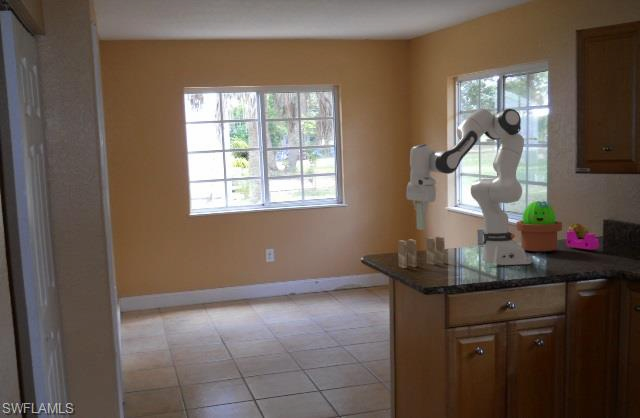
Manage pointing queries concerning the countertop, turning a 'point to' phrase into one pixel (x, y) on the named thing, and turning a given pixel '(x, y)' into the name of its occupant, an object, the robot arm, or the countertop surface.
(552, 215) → the potted cactus
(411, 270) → the countertop surface
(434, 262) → the domino
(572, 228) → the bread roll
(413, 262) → the domino
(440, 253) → the domino
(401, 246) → the domino far end
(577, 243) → the magenta tape dispenser
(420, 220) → the sage domino
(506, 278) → the countertop surface
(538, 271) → the countertop surface
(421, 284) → the countertop surface
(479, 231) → the medicine box
